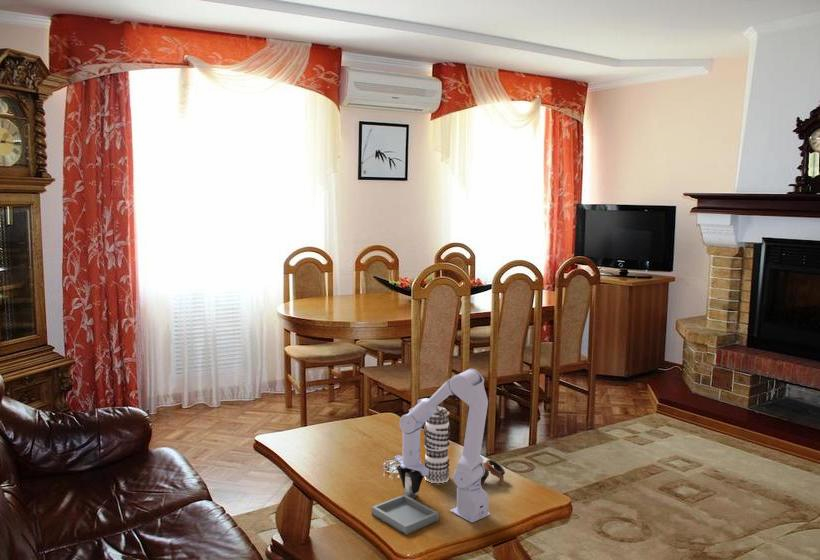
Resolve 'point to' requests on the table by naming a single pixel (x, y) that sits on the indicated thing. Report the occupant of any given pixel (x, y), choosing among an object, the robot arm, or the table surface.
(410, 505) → the tray
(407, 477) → the shaker
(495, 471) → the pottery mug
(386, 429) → the table surface
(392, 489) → the table surface
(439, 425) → the decorative candle
